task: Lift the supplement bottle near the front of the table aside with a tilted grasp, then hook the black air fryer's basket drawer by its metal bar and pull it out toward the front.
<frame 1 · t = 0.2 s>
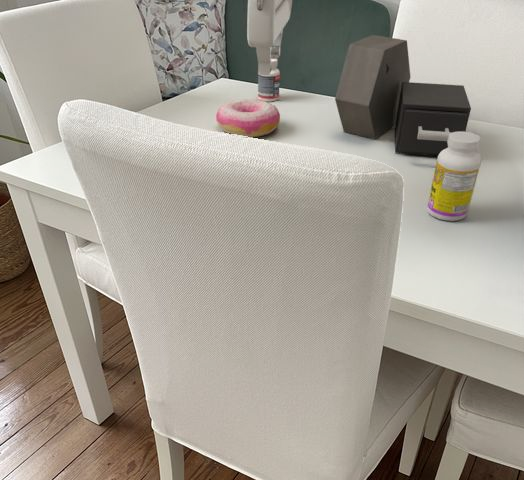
hand: (269, 65, 91), 20 cm above the table, tool pointing down, fingers open, 8 cm apart
air fryer basket: (430, 125, 113), point 5 cm above the table, slide at 0.0 cm
pill bottle: (268, 99, 141), on the table
donut: (247, 130, 124), on the table
air fryer: (425, 142, 120), on the table
supplement bottle: (446, 214, 96), on the table
dark brown block: (368, 130, 125), on the table
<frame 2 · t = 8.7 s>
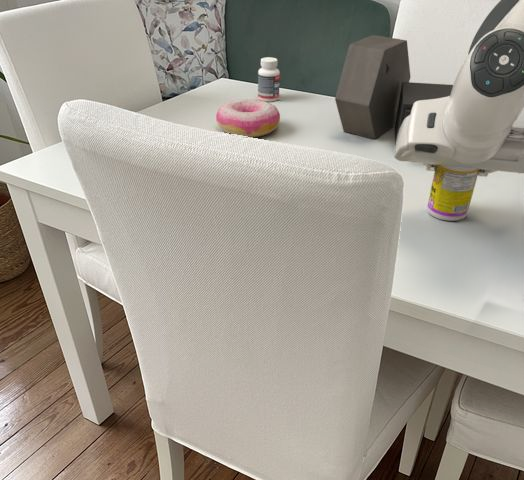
hand: (456, 169, 91), 7 cm above the table, tool tilted 45°, fingers closed on supplement bottle, 6 cm apart
supplement bottle: (446, 214, 96), on the table, touching gripper
everything else where it was.
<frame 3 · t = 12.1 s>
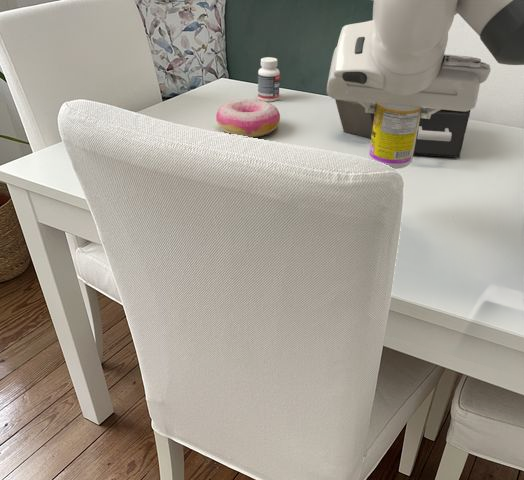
hand: (397, 111, 84), 17 cm above the table, tool tilted 45°, fingers closed on supplement bottle, 6 cm apart
supplement bottle: (389, 163, 88), point 9 cm above the table, touching gripper
everything else where it was.
when the fingers open (7 cm above the table, at t = 15.9 s): supplement bottle stays where it is, on the table.
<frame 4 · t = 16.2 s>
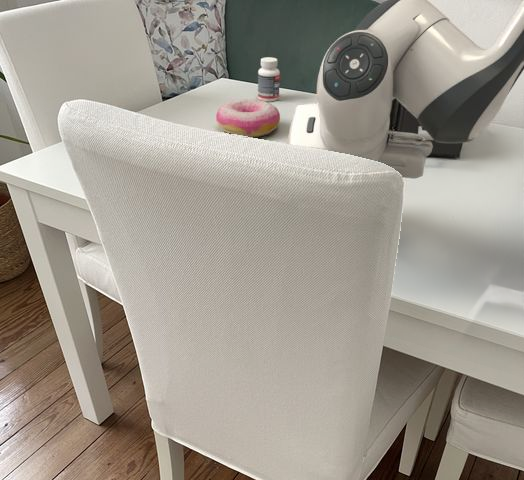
hand: (354, 173, 89), 7 cm above the table, tool tilted 45°, fingers open, 8 cm apart
supplement bottle: (349, 219, 94), on the table
everything else where it was.
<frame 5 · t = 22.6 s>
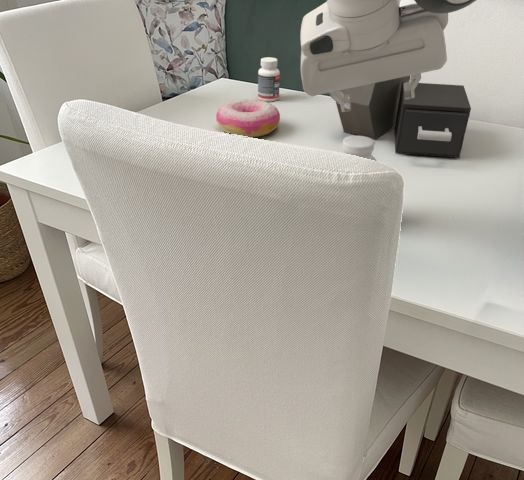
hand: (377, 102, 86), 17 cm above the table, tool tilted 25°, fingers open, 8 cm apart
nothing on the table moved.
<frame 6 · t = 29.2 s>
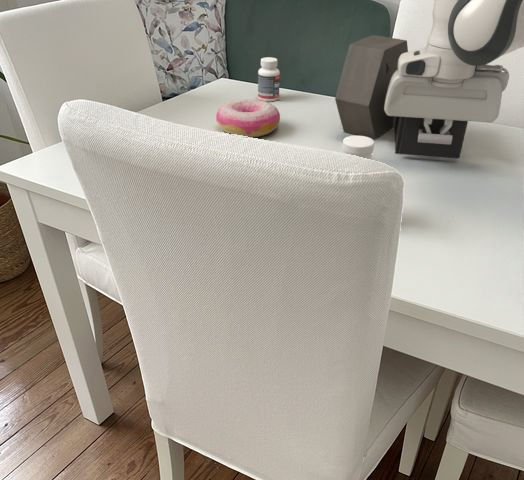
hand: (433, 141, 107), 5 cm above the table, tool pointing down, fingers closed
air fryer basket: (431, 128, 112), point 5 cm above the table, slide at 1.6 cm, touching gripper
everything else where it was.
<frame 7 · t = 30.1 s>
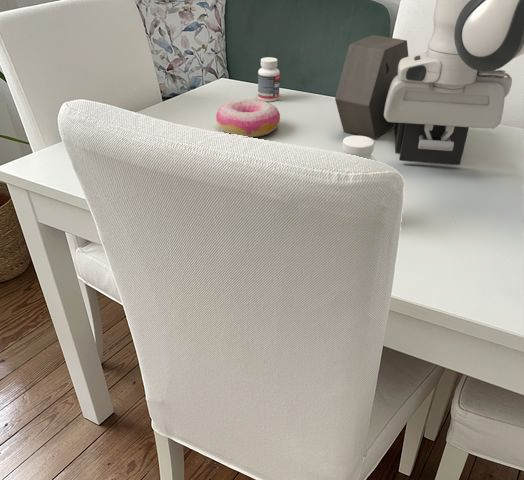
hand: (434, 148, 105), 5 cm above the table, tool pointing down, fingers closed, pressing on air fryer basket
air fryer basket: (432, 134, 110), point 5 cm above the table, slide at 4.8 cm, touching gripper
everything else where it was.
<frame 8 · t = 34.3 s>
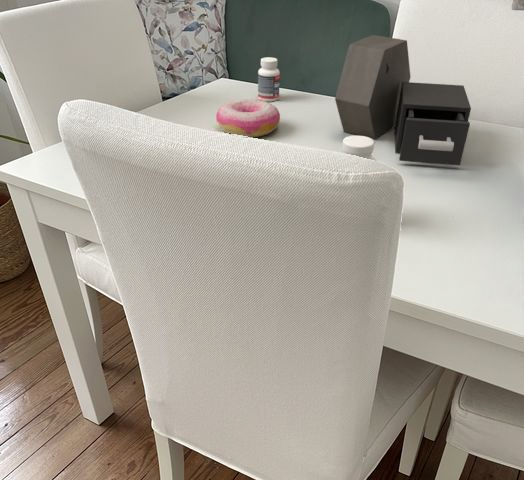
hand: (521, 10, 90), 27 cm above the table, tool pointing down, fingers closed
air fryer basket: (432, 134, 110), point 5 cm above the table, slide at 4.9 cm
everything else where it was.
at the end: air fryer basket slide at 4.9 cm; supplement bottle inside the target area (0.1 cm from its centre), on the table; supplement bottle tilted 0° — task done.
